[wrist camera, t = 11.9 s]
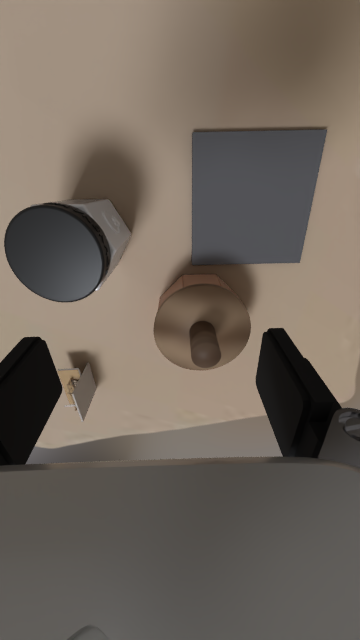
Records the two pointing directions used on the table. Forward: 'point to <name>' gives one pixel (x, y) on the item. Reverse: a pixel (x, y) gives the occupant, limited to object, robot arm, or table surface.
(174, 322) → the lid
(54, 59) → the table surface
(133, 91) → the table surface
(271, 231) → the mat
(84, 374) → the architectural model
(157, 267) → the table surface
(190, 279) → the bowl
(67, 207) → the jar
